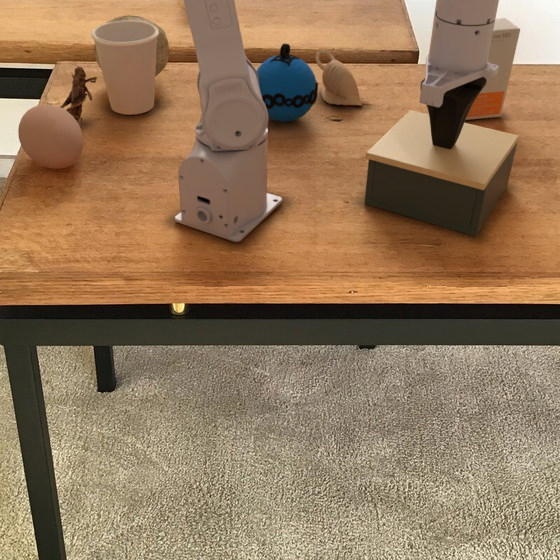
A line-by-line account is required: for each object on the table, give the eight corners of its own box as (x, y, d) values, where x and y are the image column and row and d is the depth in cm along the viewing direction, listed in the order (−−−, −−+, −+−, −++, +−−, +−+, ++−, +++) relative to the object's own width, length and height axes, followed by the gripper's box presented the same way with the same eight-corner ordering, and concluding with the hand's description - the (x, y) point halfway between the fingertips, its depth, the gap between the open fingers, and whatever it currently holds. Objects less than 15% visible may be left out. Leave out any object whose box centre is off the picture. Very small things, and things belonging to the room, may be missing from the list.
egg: (11, 151, 92) (39, 188, 85) (5, 97, 88) (34, 131, 81) (66, 142, 95) (97, 176, 89) (63, 89, 91) (95, 121, 85)
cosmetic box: (461, 122, 101) (477, 31, 94) (447, 108, 104) (461, 20, 97) (502, 117, 102) (521, 28, 95) (487, 104, 106) (504, 16, 98)
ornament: (270, 100, 105) (271, 27, 99) (327, 114, 102) (331, 40, 96) (238, 124, 99) (237, 48, 93) (297, 140, 96) (300, 62, 90)
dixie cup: (158, 120, 99) (152, 44, 93) (94, 117, 100) (83, 41, 94) (169, 93, 106) (163, 20, 100) (108, 91, 106) (99, 18, 100)
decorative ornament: (336, 111, 103) (338, 73, 100) (309, 87, 109) (311, 50, 106) (363, 107, 104) (366, 68, 101) (335, 83, 110) (337, 46, 107)
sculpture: (107, 93, 109) (83, 37, 100) (107, 75, 111) (83, 19, 102) (177, 79, 108) (159, 22, 100) (176, 62, 110) (158, 5, 102)
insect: (66, 133, 100) (44, 124, 95) (77, 68, 100) (56, 56, 95) (96, 137, 99) (76, 128, 94) (107, 71, 99) (88, 59, 94)
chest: (475, 237, 80) (486, 188, 76) (364, 204, 84) (368, 156, 81) (507, 187, 88) (517, 141, 84) (403, 160, 92) (409, 115, 89)
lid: (483, 190, 75) (484, 184, 75) (365, 158, 80) (366, 152, 80) (517, 141, 84) (519, 135, 84) (409, 115, 89) (410, 109, 89)
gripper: (482, 47, 67) (457, 184, 75) (526, 2, 77) (500, 127, 85) (406, 32, 69) (390, 166, 78) (458, -10, 80) (439, 112, 88)
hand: (443, 144), depth 82 cm, fingers closed, pressing on lid
